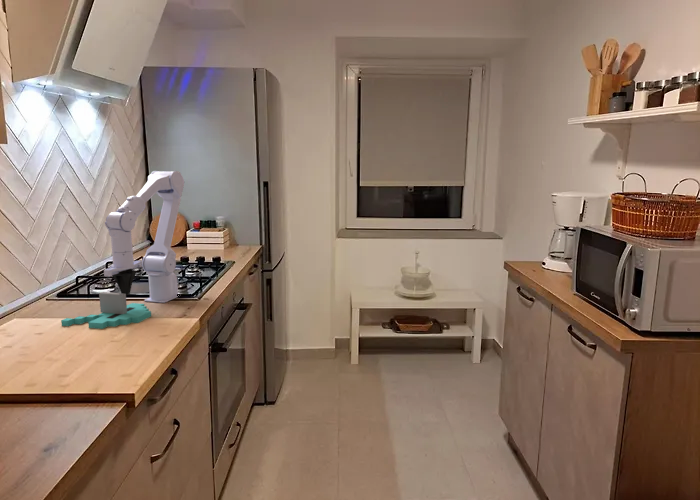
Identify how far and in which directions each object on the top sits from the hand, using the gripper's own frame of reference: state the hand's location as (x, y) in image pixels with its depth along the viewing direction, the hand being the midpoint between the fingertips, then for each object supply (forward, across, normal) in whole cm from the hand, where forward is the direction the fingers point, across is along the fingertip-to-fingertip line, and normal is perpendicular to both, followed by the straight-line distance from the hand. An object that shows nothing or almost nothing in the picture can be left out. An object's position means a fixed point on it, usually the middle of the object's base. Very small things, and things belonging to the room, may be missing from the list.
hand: (125, 294), depth 155 cm
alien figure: (+7, +5, 0) cm, 8 cm away
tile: (+4, +5, 0) cm, 7 cm away
